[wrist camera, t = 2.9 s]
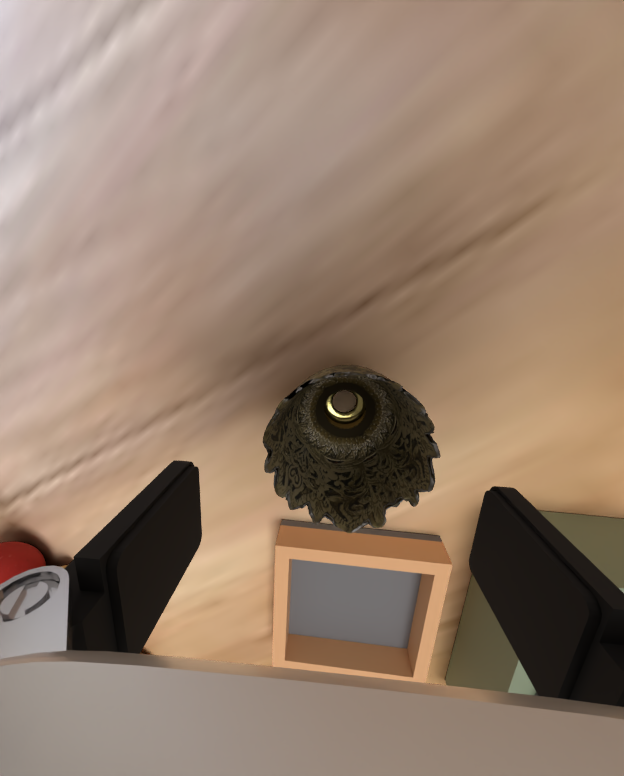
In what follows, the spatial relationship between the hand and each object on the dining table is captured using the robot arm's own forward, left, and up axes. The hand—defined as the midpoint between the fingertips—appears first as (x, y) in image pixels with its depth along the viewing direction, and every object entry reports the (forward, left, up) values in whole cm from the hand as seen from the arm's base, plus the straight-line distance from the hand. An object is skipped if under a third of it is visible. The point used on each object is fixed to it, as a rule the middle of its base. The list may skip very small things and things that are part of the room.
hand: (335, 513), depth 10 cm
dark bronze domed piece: (0, +1, -11) cm, 11 cm away
